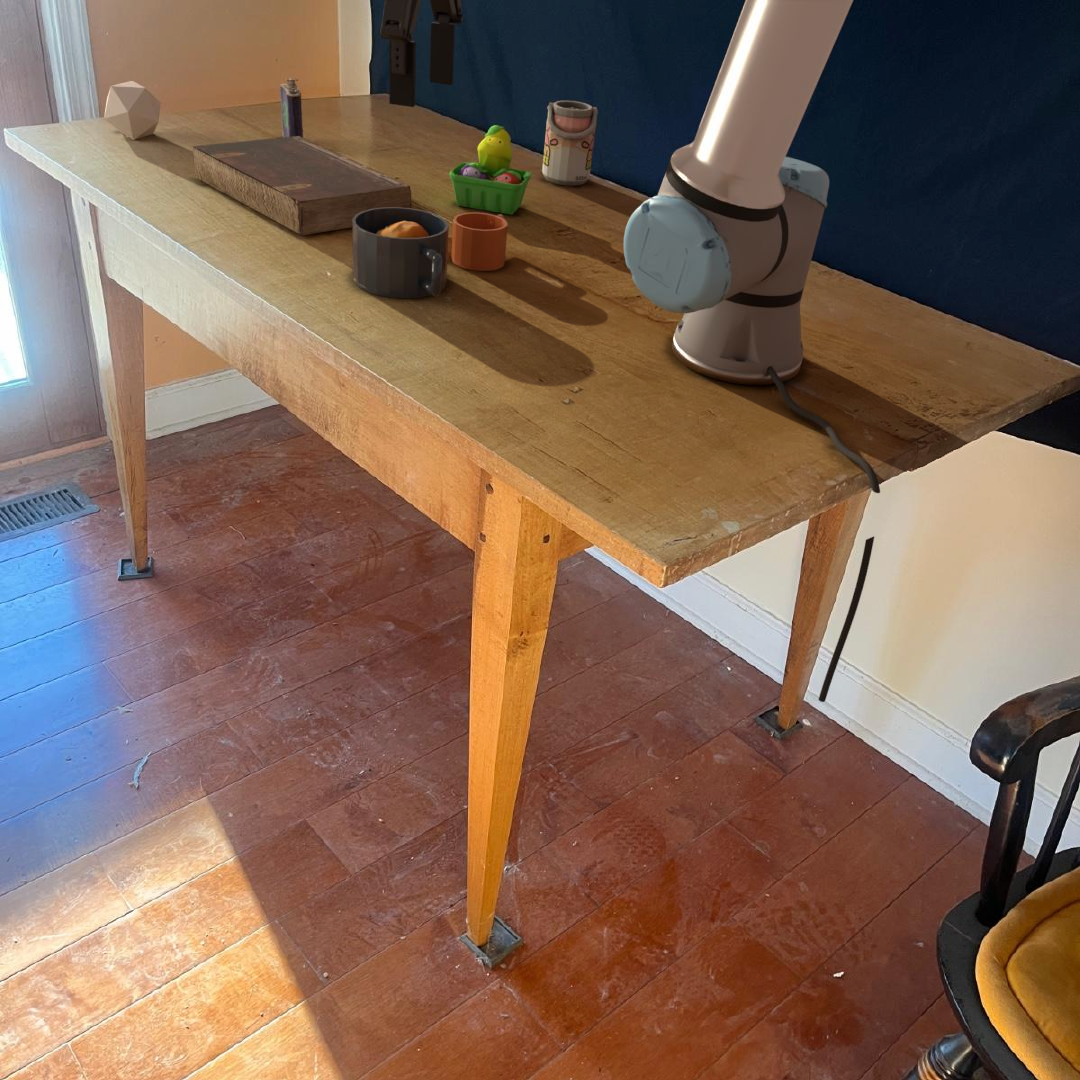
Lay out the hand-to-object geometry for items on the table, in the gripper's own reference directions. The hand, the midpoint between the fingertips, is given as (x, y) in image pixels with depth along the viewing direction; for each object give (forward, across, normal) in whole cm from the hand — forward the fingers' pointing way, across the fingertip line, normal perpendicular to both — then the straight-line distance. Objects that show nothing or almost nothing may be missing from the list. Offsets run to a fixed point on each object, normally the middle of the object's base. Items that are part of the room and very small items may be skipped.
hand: (422, 93), depth 119 cm
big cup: (+23, +2, -1) cm, 23 cm away
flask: (+22, -50, -40) cm, 68 cm away
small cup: (+23, -13, +5) cm, 26 cm away
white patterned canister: (+23, -55, +7) cm, 60 cm away
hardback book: (+22, -24, -27) cm, 42 cm away
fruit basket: (+23, -36, -1) cm, 42 cm away
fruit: (+22, 0, -2) cm, 23 cm away
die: (+22, -40, -64) cm, 79 cm away
